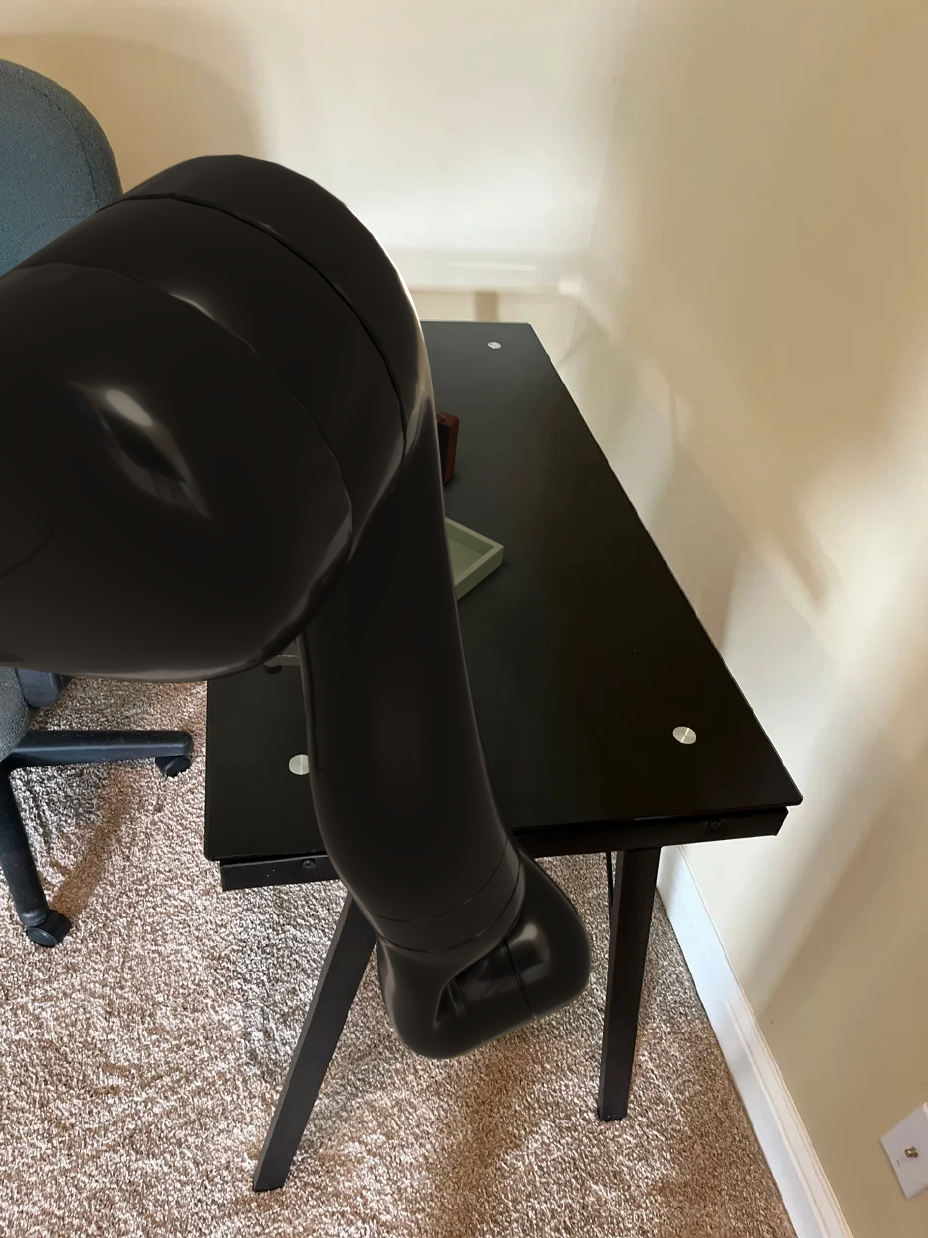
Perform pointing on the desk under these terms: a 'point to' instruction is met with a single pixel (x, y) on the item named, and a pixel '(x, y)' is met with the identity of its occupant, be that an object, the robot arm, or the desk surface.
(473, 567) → the tray
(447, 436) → the radio
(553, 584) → the desk surface
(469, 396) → the desk surface
